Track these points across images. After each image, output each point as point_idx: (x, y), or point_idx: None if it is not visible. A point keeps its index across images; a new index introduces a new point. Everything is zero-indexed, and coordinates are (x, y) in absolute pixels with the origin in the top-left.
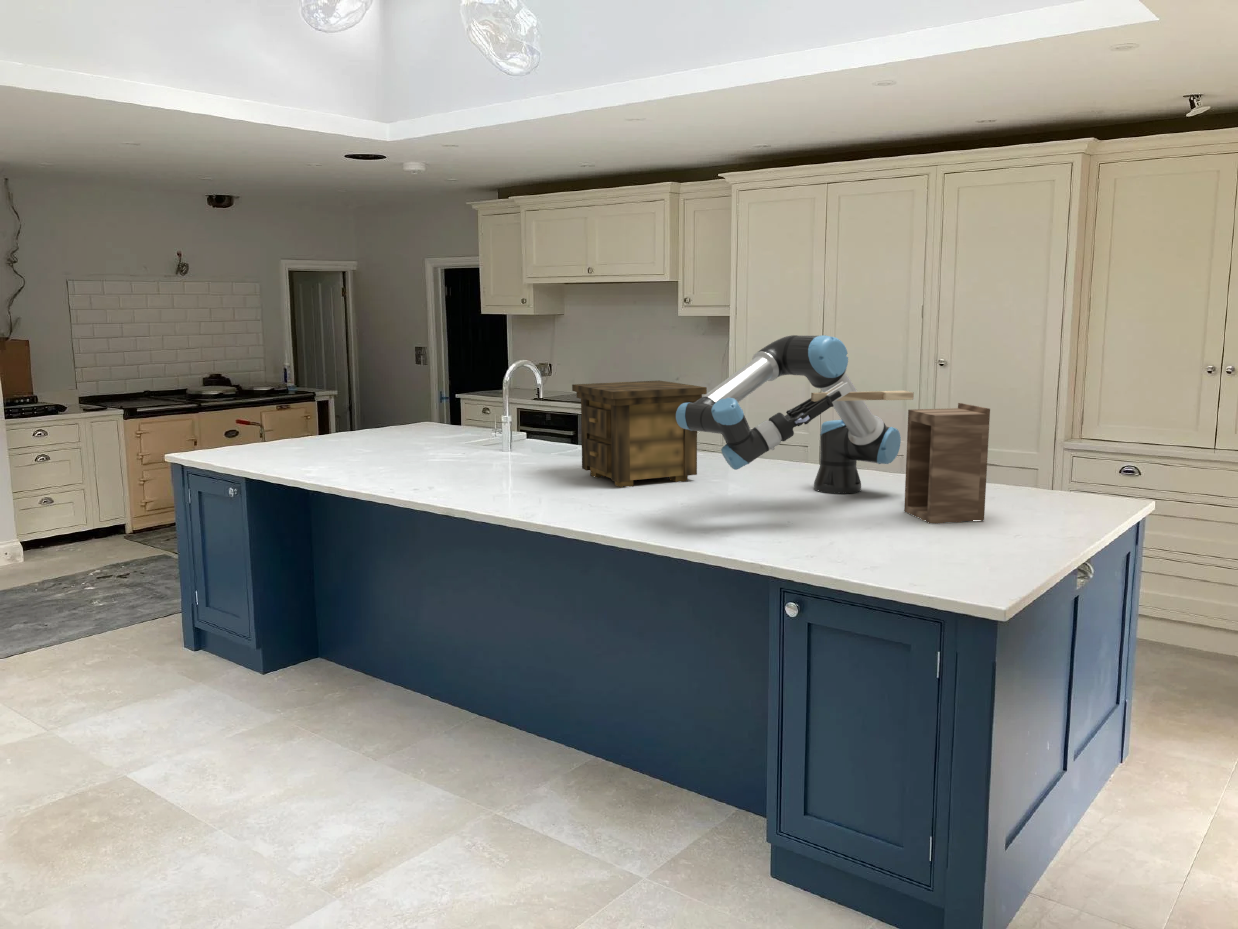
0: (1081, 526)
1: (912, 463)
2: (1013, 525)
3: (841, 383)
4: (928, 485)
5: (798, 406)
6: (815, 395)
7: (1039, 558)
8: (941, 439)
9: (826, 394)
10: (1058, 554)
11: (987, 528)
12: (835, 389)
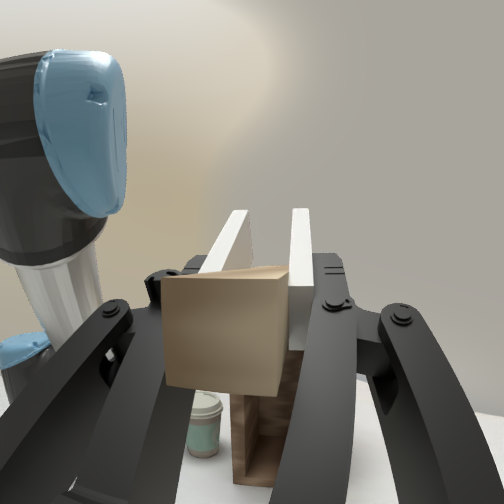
0: (362, 394)
1: (245, 413)
2: (354, 425)
3: (246, 218)
4: (251, 431)
5: (11, 455)
6: (280, 308)
7: (499, 429)
8: None
9: (287, 284)
10: (479, 419)
11: (368, 446)
12: (300, 243)
